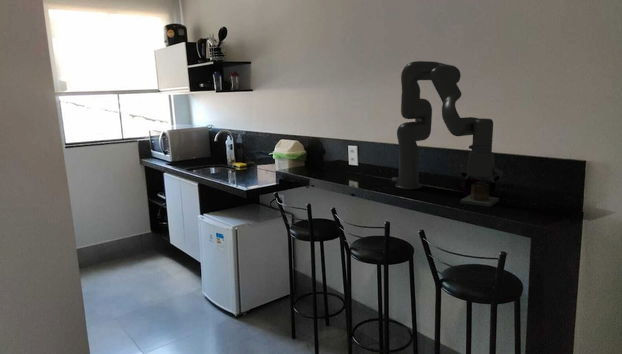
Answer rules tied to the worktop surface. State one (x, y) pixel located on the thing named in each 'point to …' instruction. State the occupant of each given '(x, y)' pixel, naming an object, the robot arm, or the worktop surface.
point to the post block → (481, 203)
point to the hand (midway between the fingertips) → (479, 189)
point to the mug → (468, 191)
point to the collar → (480, 192)
